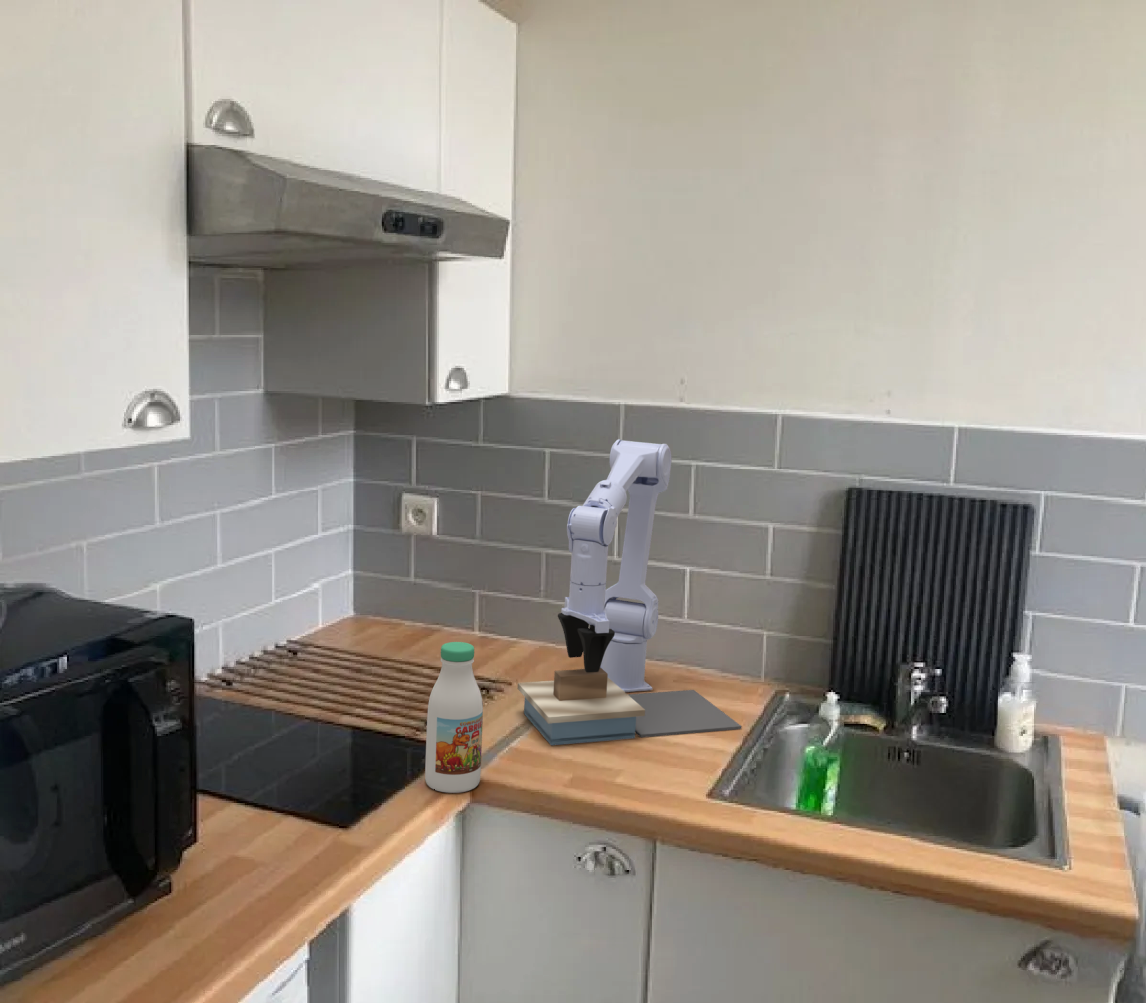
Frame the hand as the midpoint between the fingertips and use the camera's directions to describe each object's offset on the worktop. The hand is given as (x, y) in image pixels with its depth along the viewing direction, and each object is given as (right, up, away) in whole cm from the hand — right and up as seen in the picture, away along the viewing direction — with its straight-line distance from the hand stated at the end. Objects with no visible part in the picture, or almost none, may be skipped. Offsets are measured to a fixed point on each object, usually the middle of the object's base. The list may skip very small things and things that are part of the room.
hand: (583, 664), depth 181 cm
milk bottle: (-19, -14, -22) cm, 32 cm away
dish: (-1, -10, +2) cm, 10 cm away
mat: (+14, -10, +10) cm, 20 cm away
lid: (-1, -6, +1) cm, 6 cm away
